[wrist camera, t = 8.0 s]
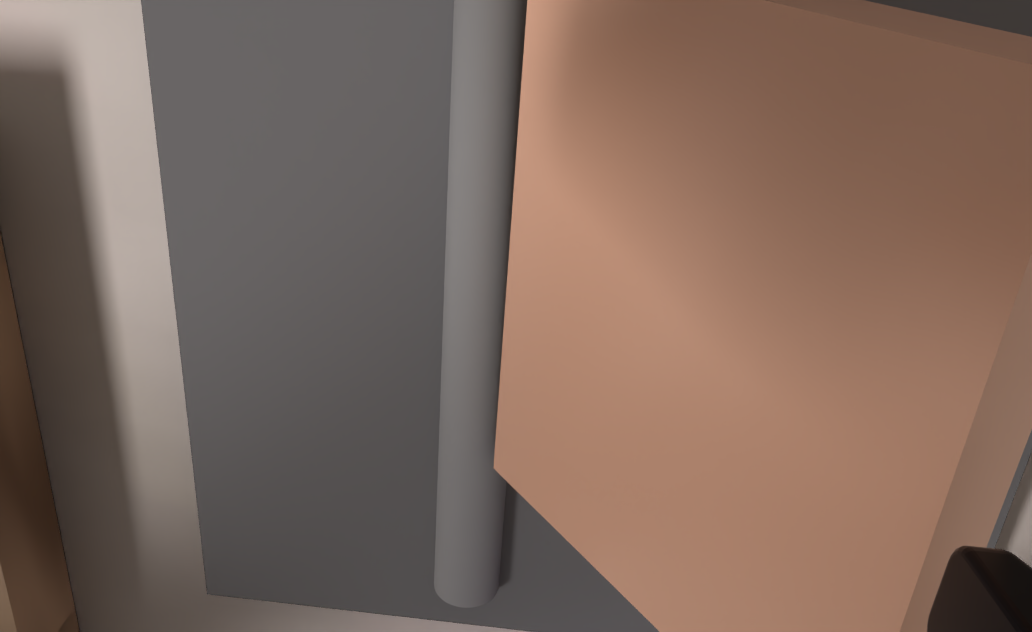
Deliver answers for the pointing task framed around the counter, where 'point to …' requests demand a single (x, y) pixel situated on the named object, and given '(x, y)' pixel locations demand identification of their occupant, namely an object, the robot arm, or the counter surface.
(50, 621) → the stand
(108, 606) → the counter surface
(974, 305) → the tile
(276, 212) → the mat
